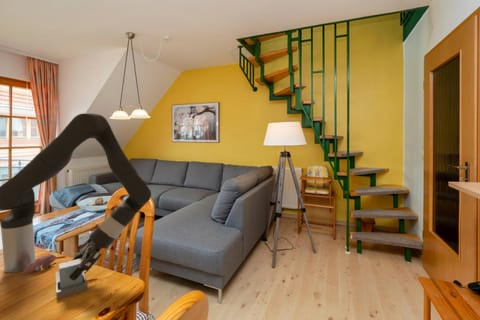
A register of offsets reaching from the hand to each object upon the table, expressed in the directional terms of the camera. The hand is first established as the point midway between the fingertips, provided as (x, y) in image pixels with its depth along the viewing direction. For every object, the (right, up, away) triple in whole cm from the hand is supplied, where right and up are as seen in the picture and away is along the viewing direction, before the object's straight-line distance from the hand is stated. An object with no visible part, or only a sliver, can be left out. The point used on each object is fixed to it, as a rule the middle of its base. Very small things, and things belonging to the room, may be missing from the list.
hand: (70, 273), depth 80 cm
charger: (0, -5, 0) cm, 5 cm away
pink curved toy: (-21, -6, +14) cm, 26 cm away
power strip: (-2, -6, +3) cm, 8 cm away
